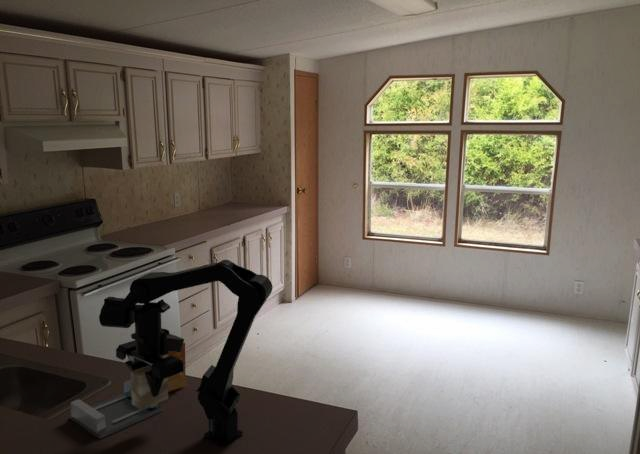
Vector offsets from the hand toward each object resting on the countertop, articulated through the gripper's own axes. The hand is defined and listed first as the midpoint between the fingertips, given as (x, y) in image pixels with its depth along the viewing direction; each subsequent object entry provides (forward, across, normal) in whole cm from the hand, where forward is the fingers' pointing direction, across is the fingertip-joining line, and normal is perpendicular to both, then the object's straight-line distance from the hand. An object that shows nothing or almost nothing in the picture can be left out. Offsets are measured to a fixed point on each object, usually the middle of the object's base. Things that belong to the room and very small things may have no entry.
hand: (150, 393), depth 118 cm
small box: (+9, +15, -15) cm, 23 cm away
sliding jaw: (+8, +12, -5) cm, 15 cm away
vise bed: (+9, +12, +2) cm, 15 cm away
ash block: (+2, 0, 0) cm, 2 cm away
